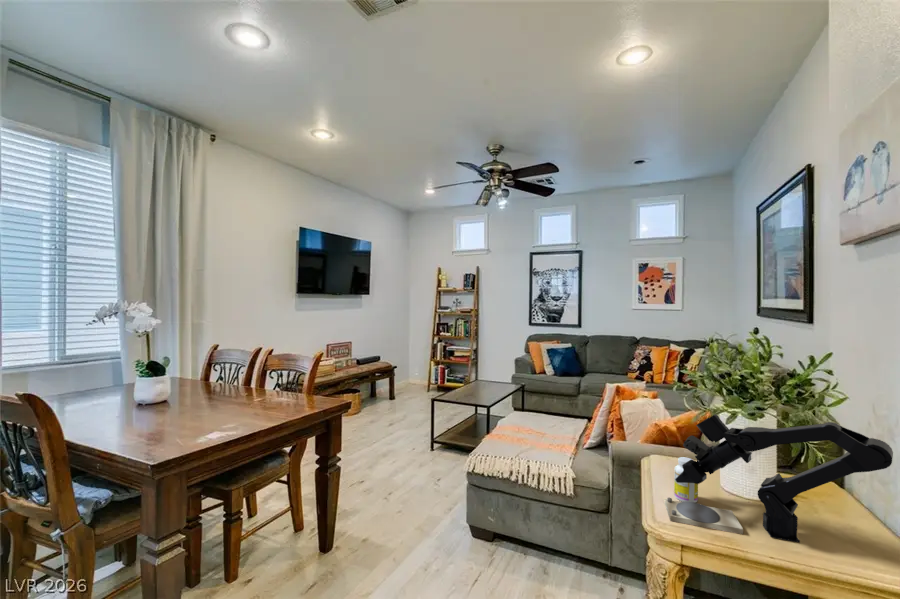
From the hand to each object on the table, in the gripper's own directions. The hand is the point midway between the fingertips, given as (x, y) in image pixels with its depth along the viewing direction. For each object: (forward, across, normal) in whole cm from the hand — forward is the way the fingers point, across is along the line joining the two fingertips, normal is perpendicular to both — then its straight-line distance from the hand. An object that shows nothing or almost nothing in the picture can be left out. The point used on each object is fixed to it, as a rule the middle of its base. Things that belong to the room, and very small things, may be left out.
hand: (681, 476), depth 130 cm
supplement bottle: (+4, 0, +6) cm, 7 cm away
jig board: (-1, +8, +11) cm, 14 cm away
